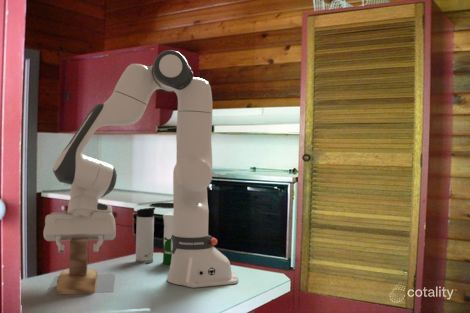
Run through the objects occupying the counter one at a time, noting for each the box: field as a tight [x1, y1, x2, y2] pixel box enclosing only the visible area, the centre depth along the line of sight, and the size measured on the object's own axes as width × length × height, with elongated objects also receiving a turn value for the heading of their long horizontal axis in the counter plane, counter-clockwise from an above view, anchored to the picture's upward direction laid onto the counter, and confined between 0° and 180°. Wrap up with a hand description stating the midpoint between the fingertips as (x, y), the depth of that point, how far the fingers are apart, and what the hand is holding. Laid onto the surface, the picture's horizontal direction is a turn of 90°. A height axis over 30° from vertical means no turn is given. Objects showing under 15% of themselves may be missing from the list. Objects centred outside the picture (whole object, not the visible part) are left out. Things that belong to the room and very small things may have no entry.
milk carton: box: [162, 211, 174, 265], centre depth 170 cm, size 9×9×20 cm
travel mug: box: [135, 206, 156, 264], centre depth 171 cm, size 6×7×20 cm
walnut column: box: [68, 238, 89, 277], centre depth 133 cm, size 4×4×10 cm
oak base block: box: [56, 269, 98, 295], centre depth 133 cm, size 10×10×4 cm
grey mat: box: [44, 273, 116, 296], centre depth 138 cm, size 18×20×1 cm
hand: (78, 251), depth 132 cm, fingers open, 8 cm apart
